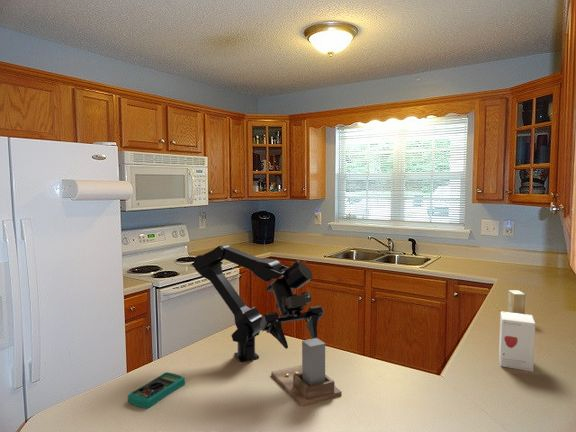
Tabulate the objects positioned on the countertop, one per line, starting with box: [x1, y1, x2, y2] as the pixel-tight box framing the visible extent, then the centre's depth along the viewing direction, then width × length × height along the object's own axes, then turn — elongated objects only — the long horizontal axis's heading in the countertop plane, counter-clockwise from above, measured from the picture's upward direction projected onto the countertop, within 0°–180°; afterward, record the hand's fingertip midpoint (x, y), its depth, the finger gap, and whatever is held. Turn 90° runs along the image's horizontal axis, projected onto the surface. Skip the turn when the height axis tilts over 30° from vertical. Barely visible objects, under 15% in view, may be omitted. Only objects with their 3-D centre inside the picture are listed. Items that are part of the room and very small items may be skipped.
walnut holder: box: [270, 364, 343, 407], centre depth 113 cm, size 19×12×4 cm, turn 26°
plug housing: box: [301, 337, 326, 386], centre depth 108 cm, size 4×4×13 cm
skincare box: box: [507, 289, 527, 314], centre depth 165 cm, size 6×4×12 cm
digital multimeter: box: [127, 371, 186, 409], centre depth 109 cm, size 7×15×3 cm, turn 153°
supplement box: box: [498, 311, 536, 373], centre depth 125 cm, size 9×9×15 cm
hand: (301, 345), depth 114 cm, fingers open, 9 cm apart
